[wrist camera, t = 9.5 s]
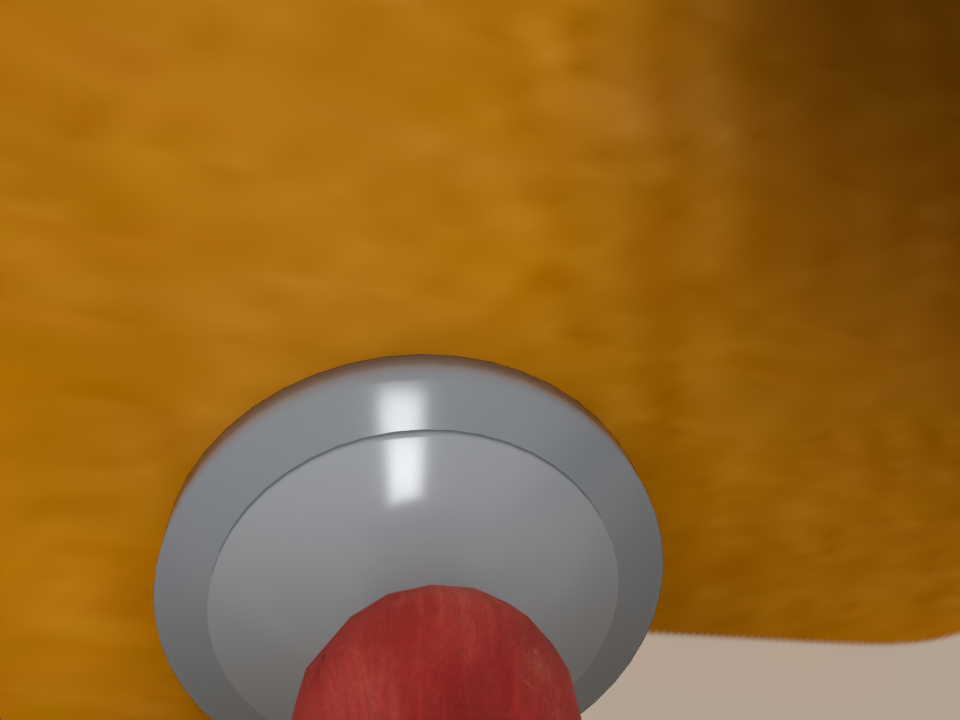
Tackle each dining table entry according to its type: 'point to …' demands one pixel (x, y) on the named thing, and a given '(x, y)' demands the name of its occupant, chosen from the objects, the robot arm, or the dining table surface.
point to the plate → (401, 525)
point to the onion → (438, 663)
